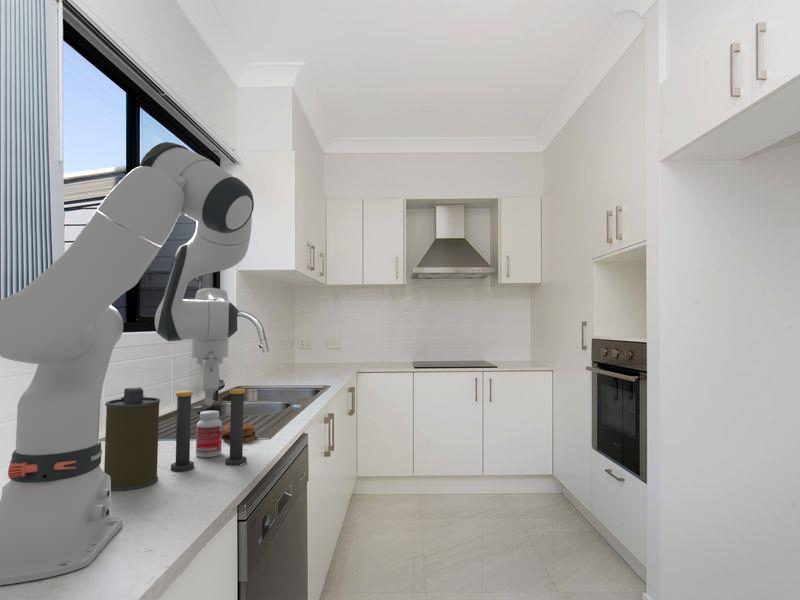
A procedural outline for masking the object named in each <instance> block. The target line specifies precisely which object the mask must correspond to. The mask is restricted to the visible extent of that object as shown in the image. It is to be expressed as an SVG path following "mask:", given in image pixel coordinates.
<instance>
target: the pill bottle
mask: <svg viewBox="0 0 800 600" xmlns="http://www.w3.org/2000/svg"><path fill="white" fill-rule="evenodd" d="M199 418H200V420H199V421H198V422H197V423H196V439H195V446H196V447H195V455H196V456H197V457H198V458H213V457H214V458H215V457H218V456H220V455H221V453H222V440H223V439H222V429H223V422H222V420H221V419H220V411H219V410H204V411H200V413H199Z"/></svg>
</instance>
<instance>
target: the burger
mask: <svg viewBox="0 0 800 600" xmlns="http://www.w3.org/2000/svg"><path fill="white" fill-rule="evenodd" d="M255 429H256V428H255V426H254V425H252V424H251V423H245V422H243V444H244V443H249V442H250V443H251V442H252V441H254V440H255V437H256V434H257V433H256V430H255ZM253 439H254V440H253ZM222 440H224V441H225V442H226V443H230V423H228V424H226V425H225V426H222Z"/></svg>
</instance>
